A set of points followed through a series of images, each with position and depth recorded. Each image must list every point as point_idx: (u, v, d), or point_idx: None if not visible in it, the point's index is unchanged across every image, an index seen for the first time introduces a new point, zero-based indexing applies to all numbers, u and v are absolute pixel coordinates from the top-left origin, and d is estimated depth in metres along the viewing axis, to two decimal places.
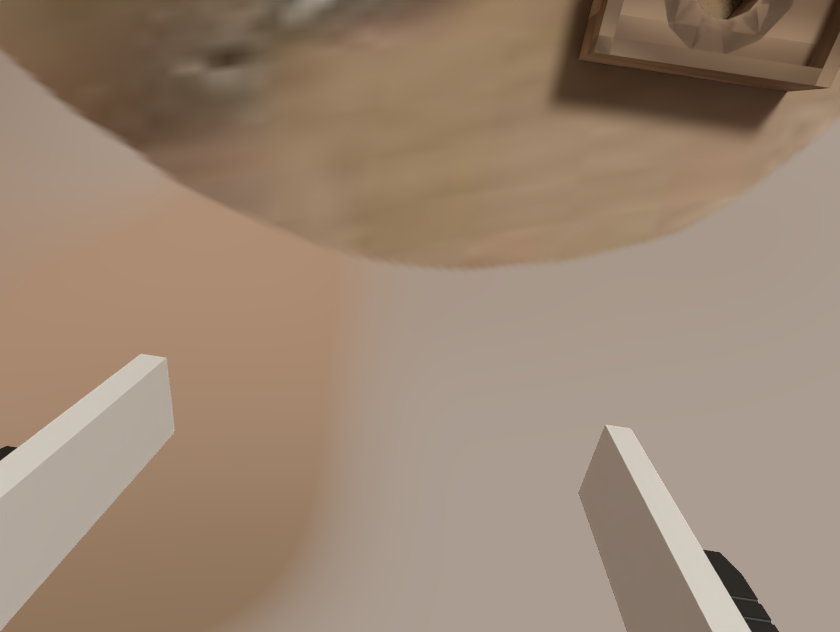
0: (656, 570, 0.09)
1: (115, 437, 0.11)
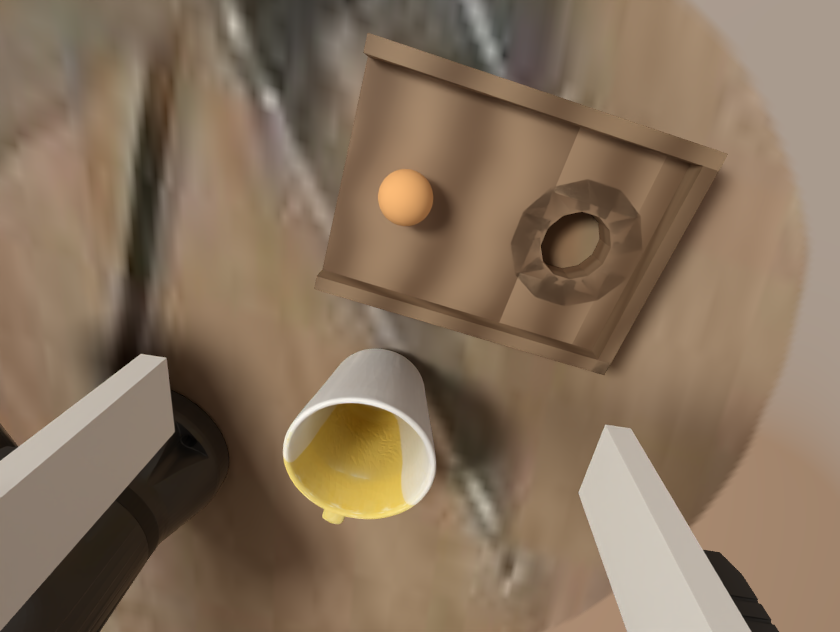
0: (656, 570, 0.09)
1: (115, 437, 0.11)
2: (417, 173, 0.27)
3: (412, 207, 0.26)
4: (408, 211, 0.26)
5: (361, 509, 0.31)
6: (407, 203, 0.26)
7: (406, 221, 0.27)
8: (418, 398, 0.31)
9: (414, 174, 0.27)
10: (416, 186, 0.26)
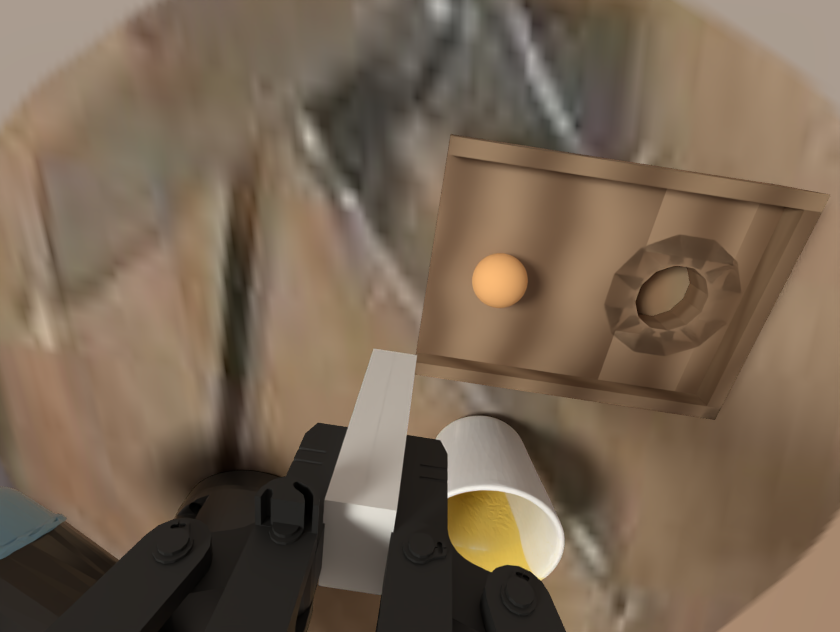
0: None
1: None
2: (510, 257, 0.27)
3: (512, 293, 0.27)
4: (508, 297, 0.27)
5: None
6: (507, 290, 0.26)
7: (505, 305, 0.27)
8: (531, 468, 0.31)
9: (509, 259, 0.27)
10: (513, 272, 0.26)
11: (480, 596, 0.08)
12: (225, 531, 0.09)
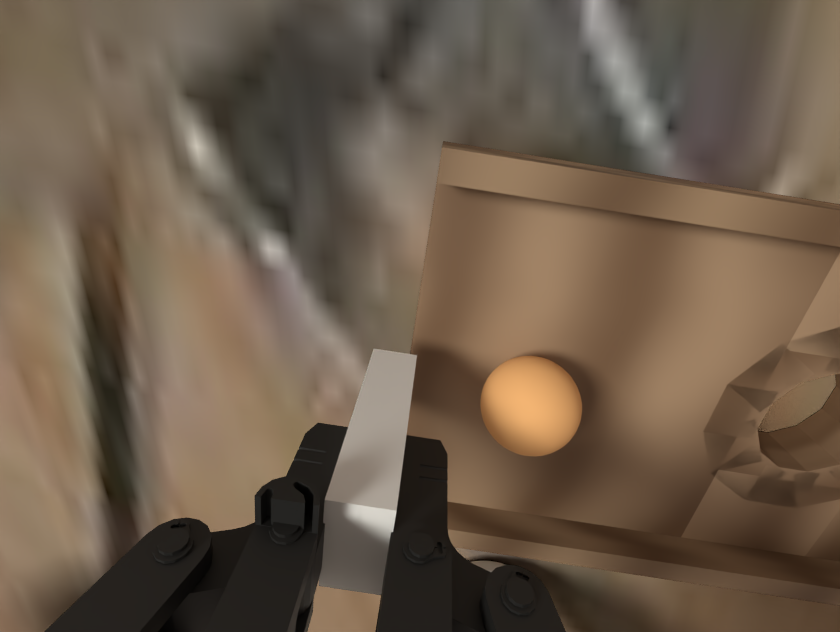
0: None
1: None
2: (552, 370, 0.15)
3: (556, 440, 0.14)
4: (548, 447, 0.14)
5: None
6: (547, 437, 0.14)
7: (542, 455, 0.15)
8: None
9: (550, 377, 0.14)
10: (559, 403, 0.14)
11: (480, 596, 0.08)
12: (225, 531, 0.09)
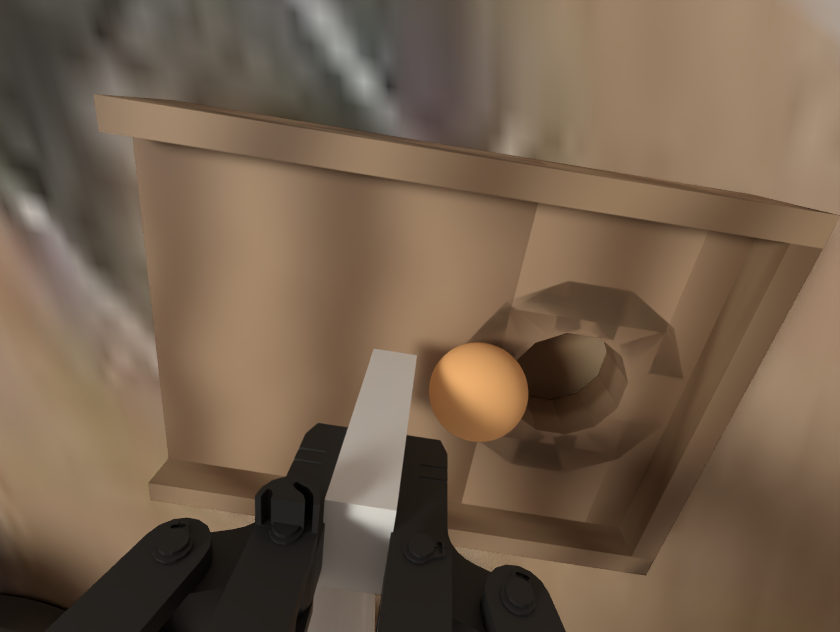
0: None
1: None
2: (477, 354, 0.15)
3: (431, 397, 0.15)
4: (430, 401, 0.16)
5: None
6: (430, 387, 0.15)
7: None
8: None
9: (467, 352, 0.15)
10: (446, 367, 0.15)
11: (480, 596, 0.08)
12: (225, 531, 0.09)
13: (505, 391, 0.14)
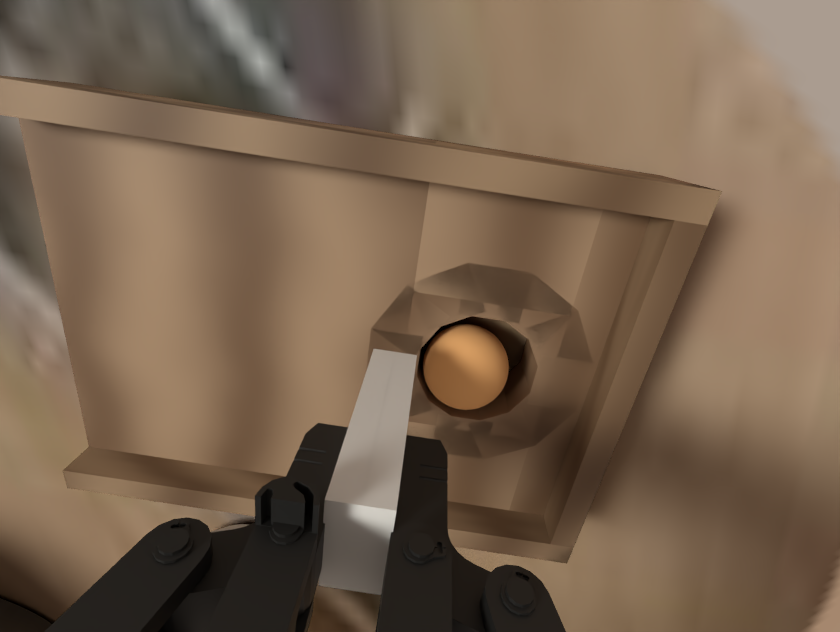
0: None
1: None
2: (477, 348, 0.17)
3: (504, 385, 0.18)
4: (500, 391, 0.18)
5: None
6: (500, 391, 0.17)
7: None
8: None
9: (481, 357, 0.16)
10: (498, 369, 0.17)
11: (480, 596, 0.08)
12: (225, 531, 0.09)
13: (477, 326, 0.18)
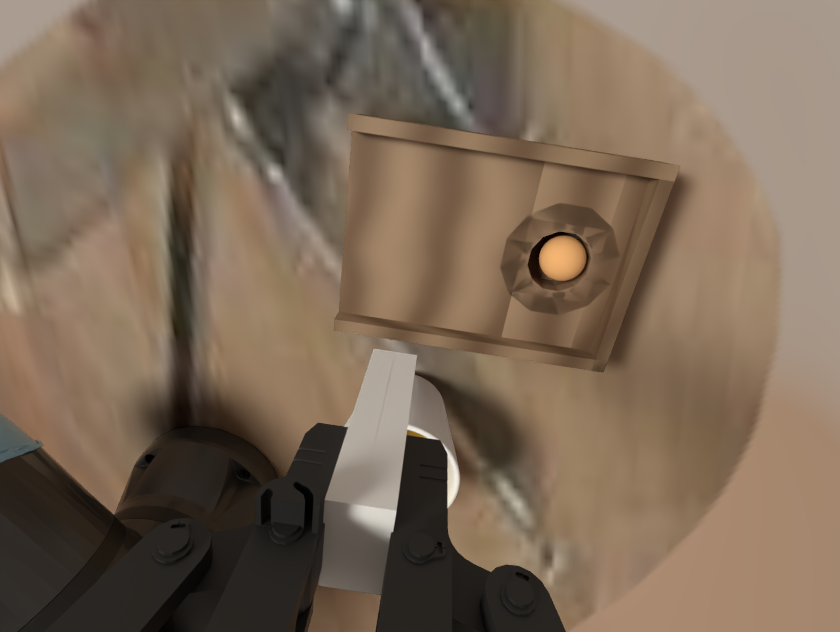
0: None
1: None
2: (575, 240, 0.33)
3: None
4: None
5: None
6: None
7: None
8: (437, 414, 0.35)
9: (579, 244, 0.33)
10: None
11: (480, 596, 0.08)
12: (225, 531, 0.09)
13: None
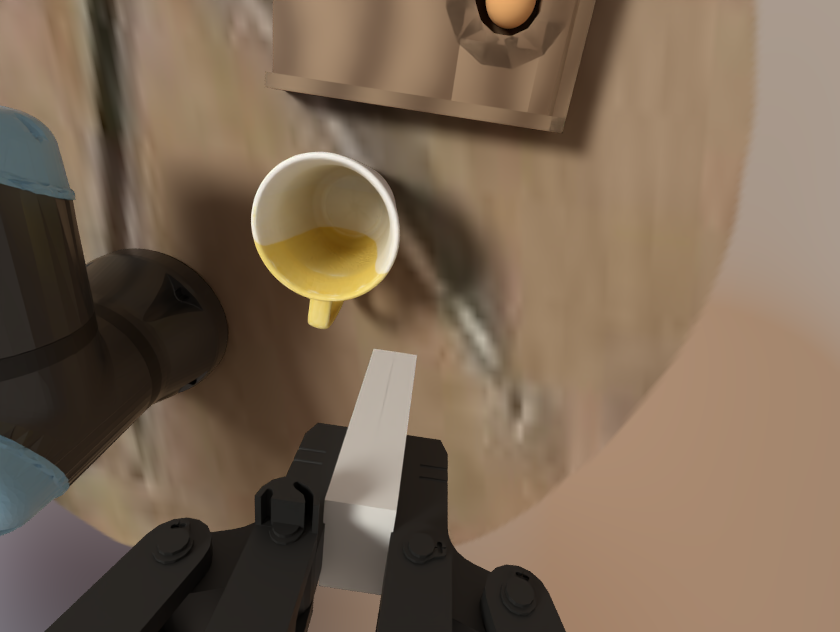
0: None
1: None
2: None
3: (534, 5, 0.31)
4: None
5: (339, 292, 0.32)
6: (534, 4, 0.31)
7: None
8: None
9: None
10: None
11: (480, 596, 0.08)
12: (224, 531, 0.09)
13: None
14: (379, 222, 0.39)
